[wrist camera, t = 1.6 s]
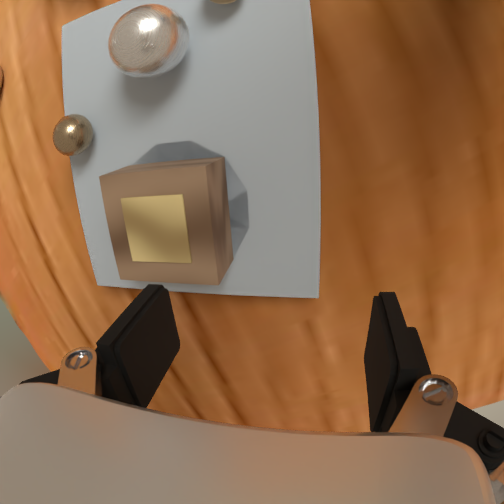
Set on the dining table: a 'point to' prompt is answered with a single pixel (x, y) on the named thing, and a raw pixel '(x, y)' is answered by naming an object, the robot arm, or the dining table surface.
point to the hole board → (211, 133)
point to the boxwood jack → (223, 1)
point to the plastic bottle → (0, 77)
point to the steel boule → (148, 41)
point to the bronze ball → (72, 134)
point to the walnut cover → (170, 221)
